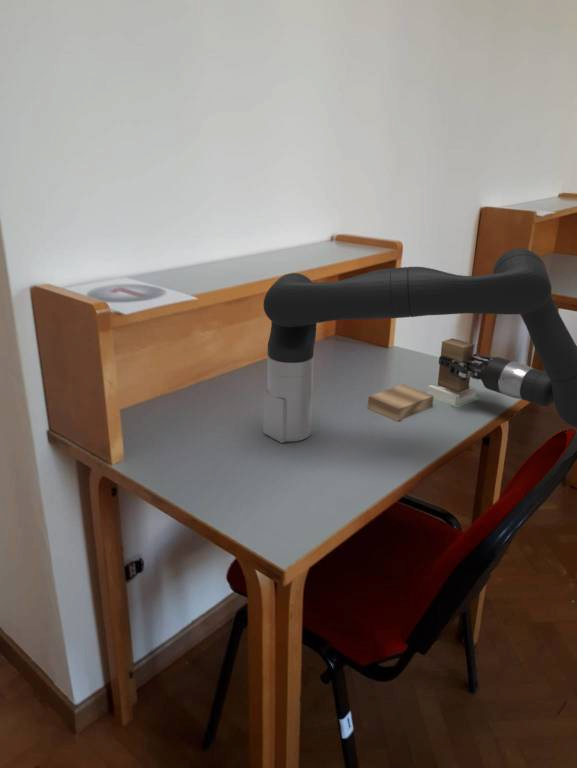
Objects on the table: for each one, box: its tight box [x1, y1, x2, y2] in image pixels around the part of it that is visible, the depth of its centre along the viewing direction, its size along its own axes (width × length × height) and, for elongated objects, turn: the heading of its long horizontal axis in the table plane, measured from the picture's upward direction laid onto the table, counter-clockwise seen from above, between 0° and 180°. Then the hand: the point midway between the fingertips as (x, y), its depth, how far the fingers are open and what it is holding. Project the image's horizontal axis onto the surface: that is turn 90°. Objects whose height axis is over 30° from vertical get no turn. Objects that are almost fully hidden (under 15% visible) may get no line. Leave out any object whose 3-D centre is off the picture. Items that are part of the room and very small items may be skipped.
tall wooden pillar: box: [437, 337, 475, 393], centre depth 150 cm, size 4×6×11 cm, turn 40°
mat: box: [426, 391, 480, 408], centre depth 153 cm, size 9×10×1 cm
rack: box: [426, 384, 477, 406], centre depth 153 cm, size 8×8×2 cm
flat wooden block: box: [367, 383, 434, 422], centre depth 146 cm, size 12×9×3 cm
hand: (446, 358), depth 152 cm, fingers closed on tall wooden pillar, 4 cm apart
